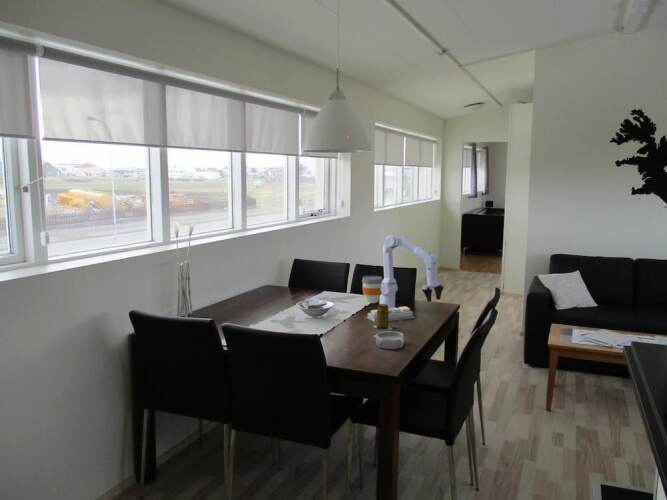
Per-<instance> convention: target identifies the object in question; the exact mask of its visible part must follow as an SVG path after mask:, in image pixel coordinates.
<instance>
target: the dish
mask: <svg viewBox="0 0 667 500" xmlns="http://www.w3.org/2000/svg"><path fill="white" fill-rule="evenodd" d="M372 338H373V341H375V345H376V346H377V347H378V348H381V349H384V350H385V349H386V350H396V349H400V348H402V347H403V346H404V343H405V335H404V333H403V332H399V331H394V330H384V331H380V332H378V333H376V334H375V335H374V334H373V336H372Z"/></svg>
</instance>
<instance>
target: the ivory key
mask: <svg viewBox="0 0 667 500" xmlns="http://www.w3.org/2000/svg"><path fill="white" fill-rule="evenodd" d="M398 308H399V309H401V312H409V311H411V308H410V307H408V306H399V307H398Z"/></svg>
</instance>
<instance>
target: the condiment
mask: <svg viewBox="0 0 667 500" xmlns="http://www.w3.org/2000/svg"><path fill="white" fill-rule="evenodd" d="M376 310H377V323H376V325H372V327H373V328H375V329H378V330H379V331H392V330H393V328H392V327H390V326H389V321H388V320H389V319H388V318H389V311H388V305H387V304H379V303H378V304H377V309H376Z"/></svg>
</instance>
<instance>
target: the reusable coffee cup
mask: <svg viewBox="0 0 667 500" xmlns="http://www.w3.org/2000/svg"><path fill="white" fill-rule="evenodd" d="M382 281H383V277H382V276H379V275H364V276H362V279H361V283H362V286H361V287H362V294H363V299H364V302H365V301H366V302H365V303H367V302H371V303H370V304H377V302H378V303H380V295H381V294H382V292H381V285H382Z"/></svg>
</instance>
